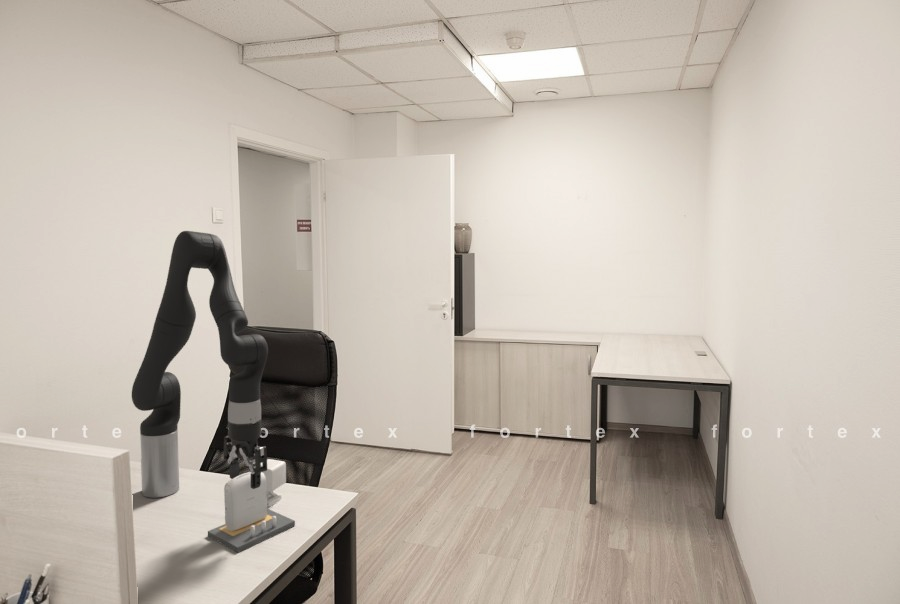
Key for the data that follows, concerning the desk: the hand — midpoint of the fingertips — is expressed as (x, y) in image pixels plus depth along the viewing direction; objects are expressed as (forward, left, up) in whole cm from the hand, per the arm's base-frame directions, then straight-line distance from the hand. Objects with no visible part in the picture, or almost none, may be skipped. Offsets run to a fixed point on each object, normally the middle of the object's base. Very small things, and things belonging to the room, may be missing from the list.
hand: (244, 482), depth 140 cm
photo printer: (0, 0, -11) cm, 11 cm away
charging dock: (+2, 0, -12) cm, 12 cm away
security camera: (-9, +13, -12) cm, 20 cm away
